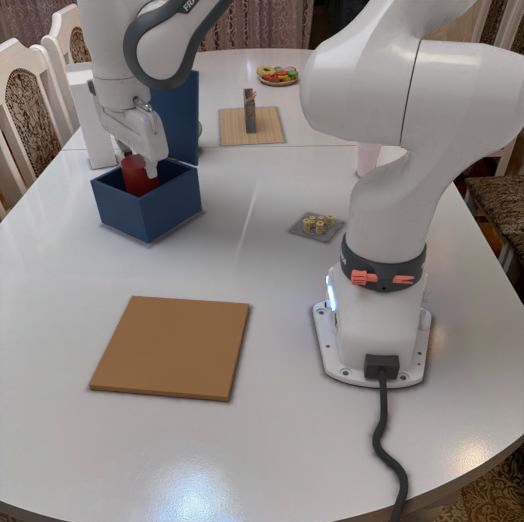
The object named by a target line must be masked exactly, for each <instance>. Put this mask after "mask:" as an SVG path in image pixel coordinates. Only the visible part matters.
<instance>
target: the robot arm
mask: <svg viewBox="0 0 524 522" xmlns="http://www.w3.org/2000/svg"><path fill="white" fill-rule="evenodd" d="M235 1H236V0H76V4H77V5H76V6H77V12H78V18H79V22H80V23H79V24H80V28H81V33H82V37H83V41H84V45H85V47H86V50H87V51H88V53H89V56H90V60H91V62H92V74H93V78H91V79H88V80H87V81H86V83H87V87H88V90H89V92H90V93H91V94H93V101H94V104H95V108H96V111H97V114H98V117H99V120H100V123H101V125H102V127H103V128H104V130H106V131H107V132H108V133H110V136H113V138H114V142H115V143H116V145H117V146H118V149H119V151H120V155H121V158H122V159H124V158H125V157H127V156H130V155H134V154H133V153H134V152H135V153H136V154H140V155H141V156H142V157H144V161H146V167H144V171H145V175H146V176H147V177H149V178H150V179H152V178H154V177H156V176H157V169H156V167H157V163H158V161H160V160H163V159H165V158H167V156H168V153H169V151H168V145H167V141H166V136H165V132H164V128H163V124H162V121H161V119H160V117H159V115H158V114H157V113H156V112H155V111H153V110H152V107H151V105H150V104H149V103H148V102H149V101H150V99H151V94H150V89H149V88H152V89H154V90H159V91H169V90H173V89H175V88H177V87H179V86H181V85H182V84H183V83H184V82H185V81H186V80H187V78H188V76H189V75H190V72H191V70H193V67H194V63H195V59H196V56H197V53H198V49H199V47H200V45H201V43H202V42H203V40H204V38H206V36H207V35H208V33H209V32H211V30H212V29H213V27H214V26H215V25H216V23H218V21H219V20H220V19H221V17H222V16H223V15H224V14H225V13H226V12H227V11H228V9H229V8H230V7H231V6H232V4H233V3H234V2H235ZM477 1H478V0H369V1H368V2H367V4H366V5H365V6H364V7H363V9H362V10H361V11H360V12H359V13H358V14H357V15H356V16H355V18H354V19H353V20H351V22H349V23H348V24H347V25H346V26H345V27H344V28H342V29H341V30H340V31H338V32H337V33H335V34H334V35H332V36H331V37H328V38H327V39H326V40H323V41H322V42H321V43H320V44H318V45H317V47H315V48H314V50H313V51H312V52H311V54H310V56H309V57H308V59H307V61H306V63H305V65H304V67H303V70H302V73H301V77H300V81H299V101H300V108H301V111H302V114H303V116H304V118H305V120H306V122H307V124H308V125H309V127H310V128H311V129H312V130H314V131H316V132H319V133H321V134H324V135H327V136H330V137H333V138H336V139H340V140H343V141H346V142H354V143H357V142H361V143H370V144H379V145H382V146H388V147H390V146H391V147H398V148H399V147H400V148H401V149H404V150H405V151H406V152H405V153H404V154H403V155H402V156H400V157H399V158H397V159H395V160H393V161H391V162H387V163H385V164H382V165H379V166H376V168H374V169H372V170H370V171H369V172H367V173H366V174H364V175H363V176H362V177H359V179H358V180H357V181H356V182H355V184H354V185H353V187H352V189H351V192H350V194H349V195H350V196H349V204H348V212H347V222H346V230H345V232H344V233H343V236H342V239H341V242H340V249H339V253H340V254H339V260H338V261H337V262H336V263H335V264H333V265H332V266H331V267H330V268H329V269H328V275H326V280H325V281H326V291H325V299H324V300H322V301H321V300H320V301H319V302H316V303H315V304H314V305H313V308H312V316H313V322H314V325H315V330H316V331H315V332H316V336H317V341H318V346H319V349H320V354H321V355H320V356H321V360H322V363H323V368H324V371H325V374H326V375H327V376H329V377H330V378H332V379H335V380H337V381H340V382H343V383H344V384H350V385H353V386H359V387H364V388H365V387H367V388H374V389H375V388H377V389H379V403H380V404H379V408H380V409H379V410H380V411H379V420H378V423H377V426H376V427H375V430H374V431H373V434H372V438H371V441H372V448H373V450H374V452H375V453H376V454H377V456H378V457H379V458H380V459H381V460H382V461H384V462H385V463H386V464H387V465H389V467H391V468H392V469H393V470H394V472H396V474H397V477H398V480H399V490H398V492H397V493H398V494H397V495H396V498H395V501H394V503H393V508H392V511H391V515H390V520H389V521H390V522H400V519H401V515H402V512H403V508H404V506H405V503H406V500H407V497H408V492H409V479H408V475H407V472H406V470H405V469H404V467H403V466H402V464H401V463H400V462H398V460H397V459H395V458H394V457H392V456H391V455H390V454H389V453H388V452H387V451H385V449H384V448H383V446H382V444H381V437H382V434H383V433H384V431H385V429H386V426H387V423H388V416H389V415H388V414H389V411H388V410H389V406H388V405H389V403H388V389H400V388H406V387H411V386H414V385H417V384H419V383H421V382H422V381H423V379H424V374H425V373H424V372H425V367H426V360H427V359H426V358H427V353H428V345H429V338H430V332H431V324H432V313H431V312H430V311H429V310H427V309H426V308H424V307H422V303H429V302H430V298H431V293H430V292H429V293H428V292H425V288H426V284H427V281H428V277H429V274H428V273H427V272H426V271H425V270H424V267H425V265H426V260H427V250H428V244H427V238H428V235H429V231H430V228H431V225H432V221H433V218H434V216H435V212H436V210H437V207H438V204H439V202H440V201H441V198H442V197H443V195H444V193H445V192H446V190H447V189H448V188H449V187H450V185H451V184H452V183H453V182H454V181H455V180H456V178H457V177H459V176H460V175H461V174H462V173H463V172H464V171H466V170H467V169H468V168H469V167H471V166H472V165H473V164H476V162H478V161H480V160H482V159H483V158H486V157H487V156H489V155H492V154H494V153H495V152H498V151H500V150H501V149H503V148H504V147H506V146H507V145H508V144H510V143H511V142H512V141H513V140H514V139H515V138H516V137H517V136H518V135H519V134H520V132H521V131H522V130H523V128H524V54H521V53H517V52H515V51H512V50H510V49H509V50H508V49H505V48H503V47H499V46H495V45H491V44H487V43H483V42H466V41H465V42H464V41H452V40H451V41H450V40H434V39H424V38H425V36H427V35H428V34H429V33H431V32H433V31H434V30H436V29H439V28H441V27H443V26H445V25H448V24H450V23H452V22H454V21H455V20H458V18H460V17H462V16H463V15H464V14H465V13H466V12H467V11H468V10H470V8H471V7H473V5H474V4H475V3H476V2H477ZM133 151H134V152H133Z"/></svg>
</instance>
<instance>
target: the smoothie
mask: <svg viewBox="0 0 524 522" xmlns="http://www.w3.org/2000/svg"><path fill="white" fill-rule="evenodd" d="M382 146H383V145H379V144H370V143H361V142H356V147H357V149H356V151H357V152H356V153H357V154H356V156H357V157H356V158H357V159H356V160H357V161H356V163H357V165H356V166H357V169H356V170H357V171H356V172H357V176H358V177H359V178H361V177H362V176H363V175H364V174H366V173H367V172H369V171H370V170H372V169H374V168H377V164H378V161H379V156H380V153H381V149H382Z"/></svg>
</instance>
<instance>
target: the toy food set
mask: <svg viewBox="0 0 524 522" xmlns="http://www.w3.org/2000/svg"><path fill="white" fill-rule="evenodd" d="M256 75H257V76H258V79H259V80H260V81H261V83H262V84H264V85H267V86H271V87H286V86H290V85H292V84H294V83H295V82H297V80H298V79H299V72H298V71H297V68H296V67H294V66H285V67H282V66H275V67H271V66H268V65H261V66H258V67H257V69H256Z"/></svg>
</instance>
